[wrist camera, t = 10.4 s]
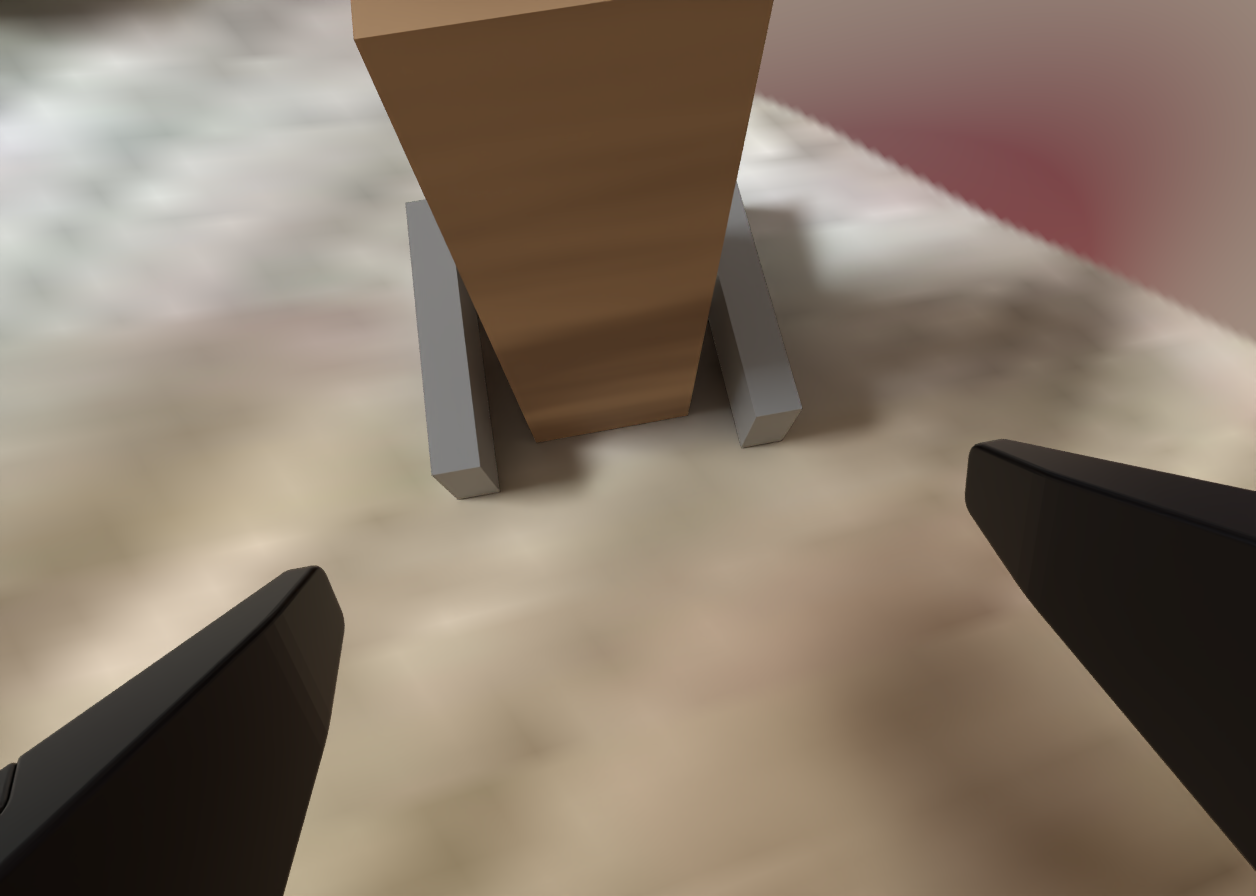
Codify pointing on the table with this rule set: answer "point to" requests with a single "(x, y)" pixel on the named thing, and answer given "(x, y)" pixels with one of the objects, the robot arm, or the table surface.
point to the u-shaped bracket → (458, 369)
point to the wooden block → (577, 181)
